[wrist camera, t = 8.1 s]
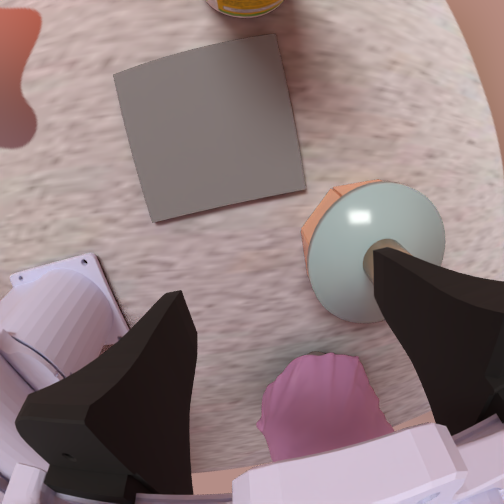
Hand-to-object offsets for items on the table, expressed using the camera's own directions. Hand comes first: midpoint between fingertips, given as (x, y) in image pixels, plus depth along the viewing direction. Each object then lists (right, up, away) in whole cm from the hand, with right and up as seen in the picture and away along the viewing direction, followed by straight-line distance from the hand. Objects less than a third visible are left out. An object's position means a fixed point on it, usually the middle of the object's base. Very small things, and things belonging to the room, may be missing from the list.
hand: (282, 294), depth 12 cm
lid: (+7, +1, +7) cm, 10 cm away
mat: (-4, +9, +7) cm, 12 cm away
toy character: (+4, -10, +16) cm, 19 cm away
